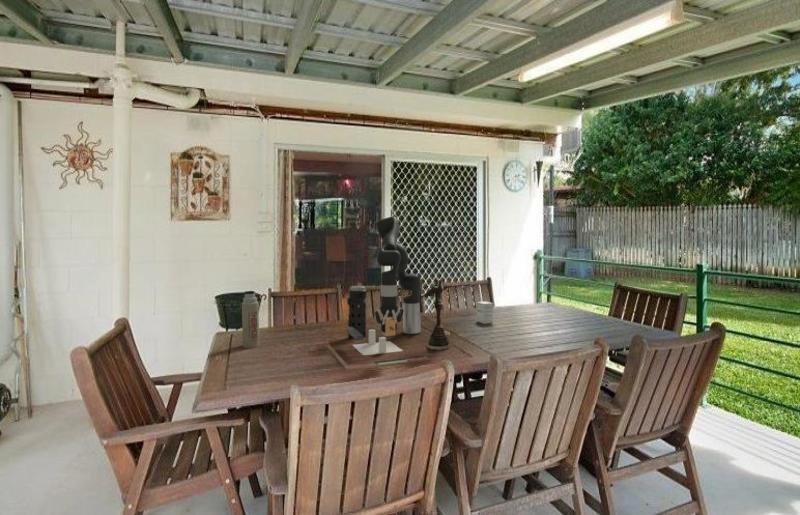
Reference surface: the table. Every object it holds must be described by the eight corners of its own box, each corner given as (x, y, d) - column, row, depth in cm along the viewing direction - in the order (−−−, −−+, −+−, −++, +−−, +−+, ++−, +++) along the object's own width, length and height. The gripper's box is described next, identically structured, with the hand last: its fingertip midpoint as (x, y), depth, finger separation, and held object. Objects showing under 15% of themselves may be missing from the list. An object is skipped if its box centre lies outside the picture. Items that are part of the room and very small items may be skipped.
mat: (399, 356, 217) (399, 354, 217) (407, 362, 208) (407, 360, 208) (371, 359, 212) (371, 357, 212) (378, 365, 203) (378, 363, 203)
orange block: (391, 332, 212) (391, 317, 211) (397, 336, 205) (397, 321, 205) (382, 333, 210) (382, 318, 210) (388, 337, 203) (388, 322, 203)
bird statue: (414, 344, 238) (414, 276, 235) (434, 340, 245) (434, 275, 243) (433, 351, 225) (434, 280, 222) (454, 347, 232) (455, 278, 229)
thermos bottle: (260, 346, 233) (259, 291, 231) (244, 348, 229) (242, 293, 227) (257, 342, 240) (256, 289, 238) (241, 344, 236) (240, 290, 234)
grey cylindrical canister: (476, 321, 290) (476, 301, 289) (486, 320, 294) (486, 301, 292) (483, 324, 284) (483, 303, 283) (493, 322, 287) (493, 302, 286)
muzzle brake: (349, 340, 245) (368, 339, 248) (348, 288, 243) (368, 287, 246) (346, 336, 254) (364, 334, 257) (345, 285, 252) (364, 285, 255)
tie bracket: (389, 343, 238) (389, 327, 238) (403, 353, 221) (403, 336, 220) (352, 347, 231) (352, 331, 230) (363, 358, 213) (363, 340, 213)
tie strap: (352, 330, 230) (352, 326, 230) (363, 339, 213) (363, 335, 213) (346, 331, 229) (346, 327, 229) (356, 340, 212) (356, 336, 211)
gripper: (400, 292, 214) (400, 328, 215) (371, 294, 209) (371, 331, 210) (406, 294, 207) (406, 332, 208) (376, 296, 202) (376, 335, 203)
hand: (388, 331), depth 209 cm, fingers closed on orange block, 4 cm apart
